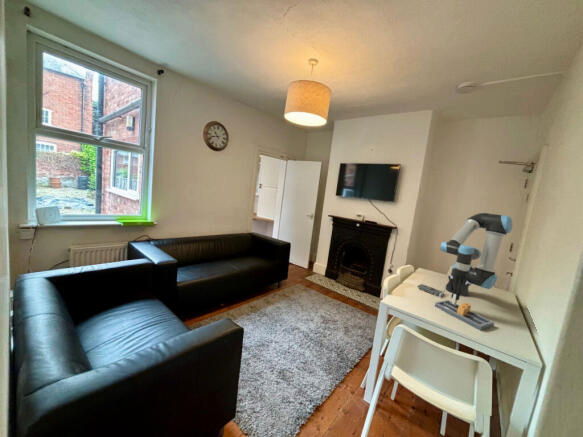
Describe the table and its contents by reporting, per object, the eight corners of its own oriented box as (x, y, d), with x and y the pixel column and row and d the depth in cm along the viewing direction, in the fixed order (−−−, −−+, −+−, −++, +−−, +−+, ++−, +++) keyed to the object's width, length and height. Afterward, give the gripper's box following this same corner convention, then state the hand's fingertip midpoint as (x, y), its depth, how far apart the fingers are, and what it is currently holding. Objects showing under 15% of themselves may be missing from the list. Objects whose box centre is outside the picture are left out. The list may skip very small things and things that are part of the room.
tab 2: (463, 309, 146) (465, 301, 145) (469, 311, 143) (471, 304, 142) (460, 310, 144) (462, 302, 143) (465, 312, 141) (467, 305, 141)
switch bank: (447, 304, 156) (448, 299, 156) (493, 326, 133) (494, 321, 133) (434, 306, 150) (435, 302, 150) (480, 330, 127) (481, 325, 127)
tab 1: (460, 312, 141) (462, 304, 141) (466, 315, 138) (468, 307, 138) (456, 313, 140) (458, 305, 139) (462, 315, 137) (464, 308, 136)
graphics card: (446, 290, 173) (441, 293, 165) (445, 295, 173) (440, 298, 165) (422, 282, 185) (416, 284, 178) (421, 286, 186) (415, 289, 178)
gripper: (447, 265, 150) (440, 299, 154) (470, 273, 139) (461, 309, 142) (454, 265, 154) (447, 298, 157) (476, 272, 142) (468, 307, 146)
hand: (454, 303), depth 150 cm, fingers closed
